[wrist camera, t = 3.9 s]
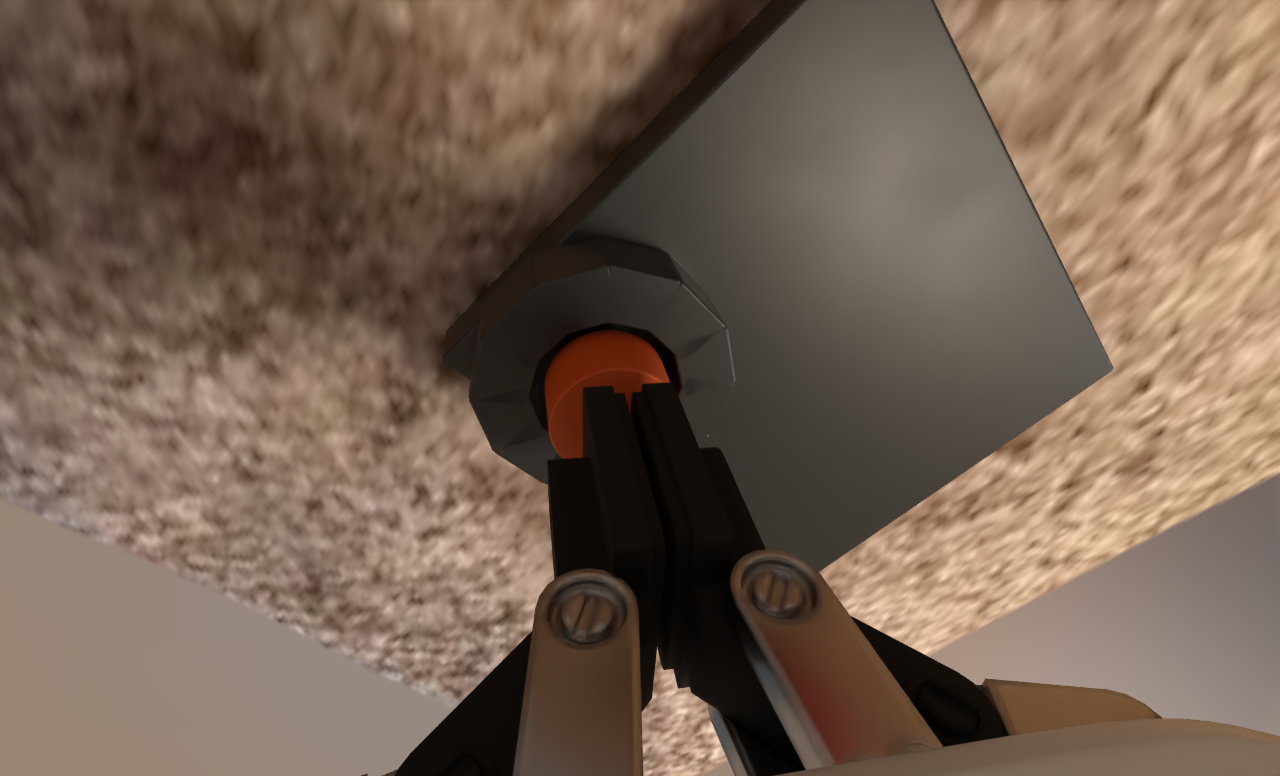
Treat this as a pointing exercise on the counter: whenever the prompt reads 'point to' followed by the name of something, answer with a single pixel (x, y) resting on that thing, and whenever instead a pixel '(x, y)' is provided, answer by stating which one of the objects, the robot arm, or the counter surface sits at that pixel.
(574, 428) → the power button
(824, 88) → the scale
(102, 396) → the counter surface
